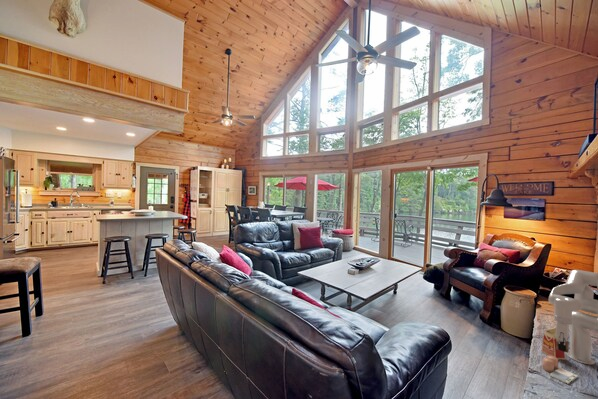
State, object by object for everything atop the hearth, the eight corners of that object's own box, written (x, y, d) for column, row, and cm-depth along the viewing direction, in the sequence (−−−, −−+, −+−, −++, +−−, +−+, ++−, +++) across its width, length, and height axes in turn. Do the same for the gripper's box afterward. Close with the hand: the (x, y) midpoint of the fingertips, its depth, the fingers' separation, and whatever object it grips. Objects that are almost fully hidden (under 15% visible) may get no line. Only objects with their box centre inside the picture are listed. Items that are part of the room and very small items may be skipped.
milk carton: (552, 351, 179) (552, 323, 179) (566, 359, 170) (566, 330, 170) (539, 351, 179) (540, 323, 179) (553, 359, 170) (553, 330, 170)
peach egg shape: (549, 363, 165) (549, 354, 165) (559, 368, 161) (559, 358, 161) (545, 365, 163) (545, 356, 163) (556, 370, 159) (556, 360, 159)
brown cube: (568, 350, 154) (568, 341, 154) (568, 352, 150) (568, 344, 151) (556, 346, 157) (557, 338, 158) (556, 349, 154) (556, 340, 154)
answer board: (559, 369, 160) (559, 367, 160) (577, 377, 153) (577, 375, 153) (549, 375, 154) (549, 373, 154) (568, 384, 146) (568, 382, 146)
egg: (544, 366, 162) (544, 357, 162) (555, 371, 158) (555, 361, 158) (541, 368, 160) (541, 359, 160) (551, 373, 156) (551, 363, 156)
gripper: (555, 313, 163) (555, 342, 162) (552, 320, 152) (552, 350, 151) (572, 318, 157) (572, 347, 156) (570, 325, 146) (570, 357, 146)
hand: (562, 348), depth 154 cm, fingers closed on brown cube, 5 cm apart
